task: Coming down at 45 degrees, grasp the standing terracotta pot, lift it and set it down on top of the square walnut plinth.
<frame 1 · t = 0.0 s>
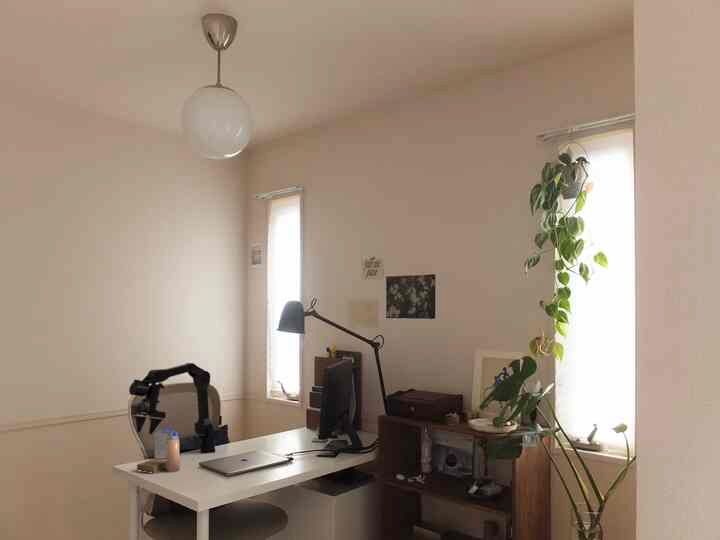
hand: (144, 433, 247), 15 cm above the table, tool pointing down, fingers open, 9 cm apart
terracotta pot: (173, 470, 241), on the table
walnut plinth: (154, 469, 244), on the table
ink cartridge box: (166, 457, 265), on the table
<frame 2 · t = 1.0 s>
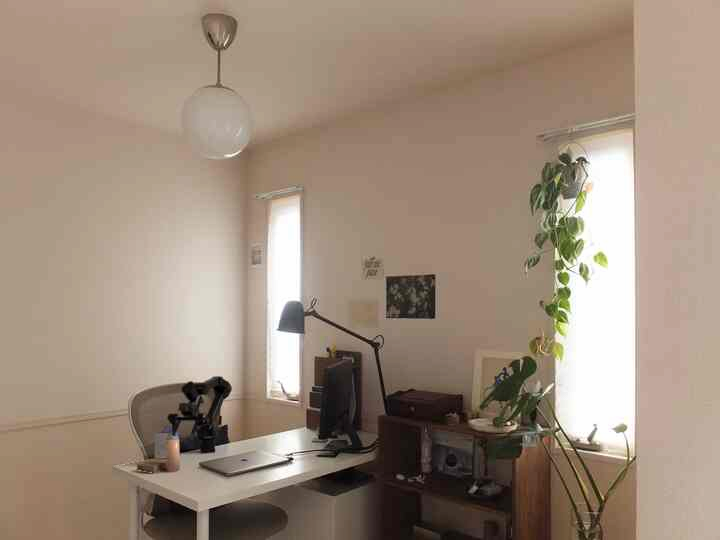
hand: (182, 435, 250), 13 cm above the table, tool tilted 45°, fingers open, 9 cm apart
nothing on the table moved.
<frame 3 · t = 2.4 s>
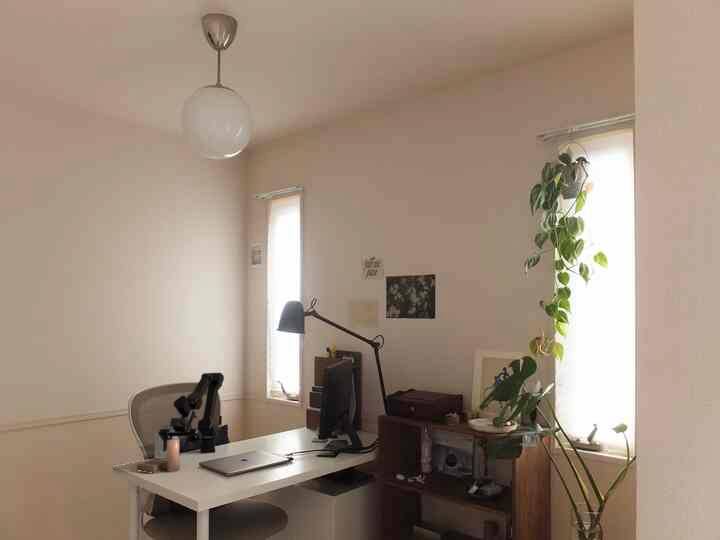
hand: (173, 451, 242), 8 cm above the table, tool tilted 45°, fingers open, 9 cm apart
nothing on the table moved.
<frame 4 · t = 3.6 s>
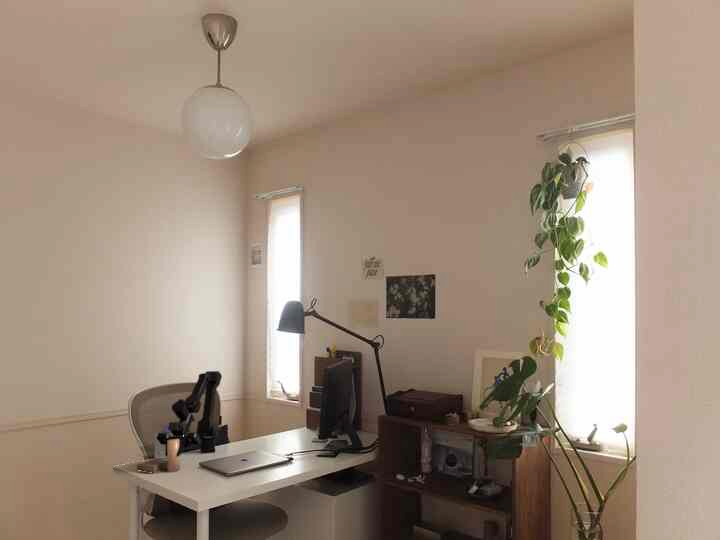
hand: (171, 455, 241), 7 cm above the table, tool tilted 45°, fingers closed on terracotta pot, 5 cm apart
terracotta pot: (173, 470, 241), on the table, touching gripper
everything else where it was.
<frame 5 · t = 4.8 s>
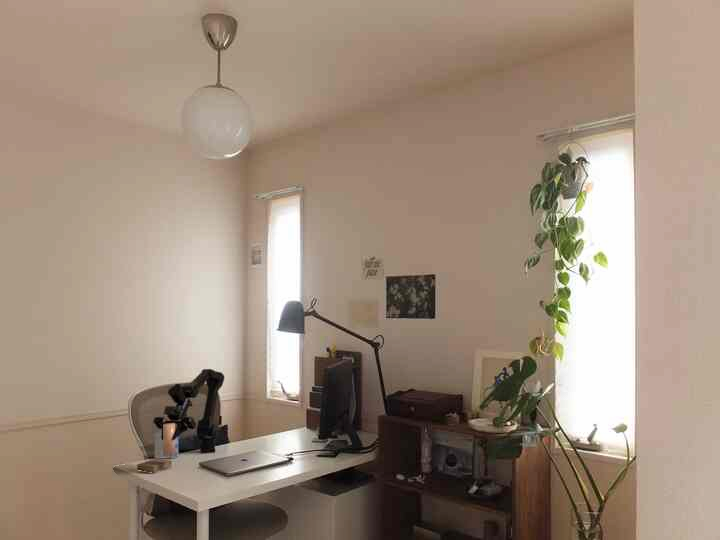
hand: (167, 439, 242), 13 cm above the table, tool tilted 45°, fingers closed on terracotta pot, 5 cm apart
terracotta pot: (169, 454, 242), point 7 cm above the table, touching gripper
everything else where it was.
when the fingers open (10 cm above the table, at t = 6.3 s): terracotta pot stays where it is, resting on walnut plinth.
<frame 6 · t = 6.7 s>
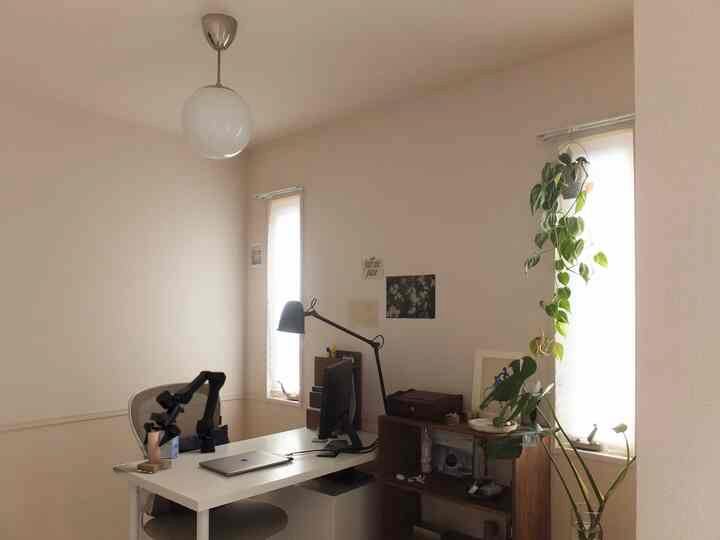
hand: (151, 445, 244), 11 cm above the table, tool tilted 45°, fingers open, 9 cm apart
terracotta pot: (154, 462, 245), point 3 cm above the table, touching walnut plinth
everything else where it was.
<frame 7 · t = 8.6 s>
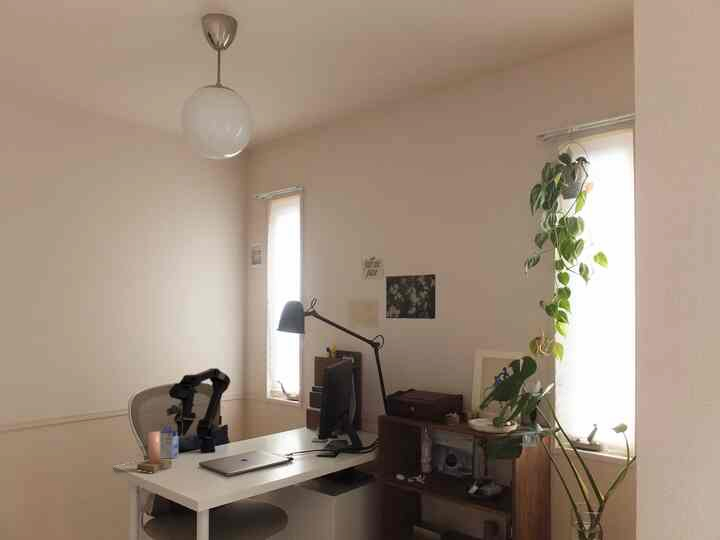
hand: (181, 436, 256), 12 cm above the table, tool tilted 20°, fingers open, 9 cm apart
nothing on the table moved.
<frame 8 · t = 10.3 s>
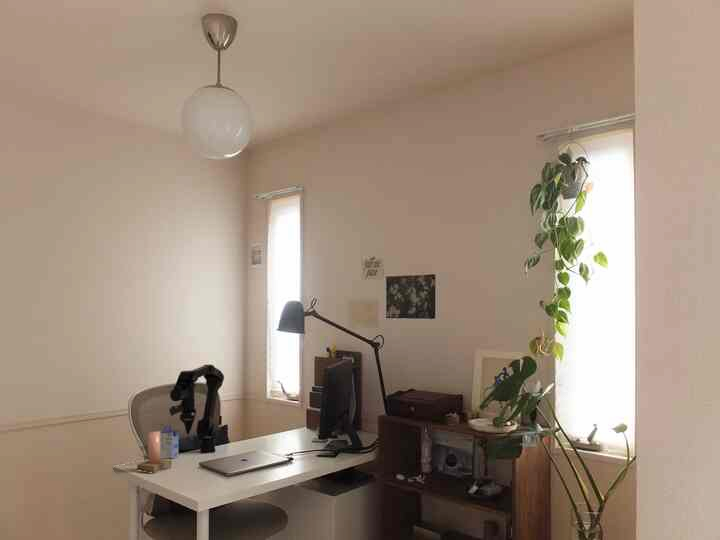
hand: (188, 432, 258), 13 cm above the table, tool pointing down, fingers open, 9 cm apart
nothing on the table moved.
at the end: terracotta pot inside the target area on the walnut plinth (0.1 cm from its centre), point 3.0 cm above the walnut plinth's base; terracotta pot tilted 0°; the gripper is holding nothing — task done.
